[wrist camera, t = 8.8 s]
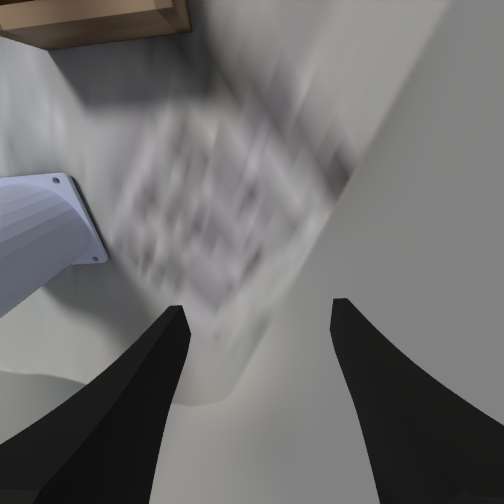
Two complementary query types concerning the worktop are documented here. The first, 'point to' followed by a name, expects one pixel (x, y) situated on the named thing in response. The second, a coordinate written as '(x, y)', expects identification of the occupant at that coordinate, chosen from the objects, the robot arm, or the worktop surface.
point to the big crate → (90, 21)
